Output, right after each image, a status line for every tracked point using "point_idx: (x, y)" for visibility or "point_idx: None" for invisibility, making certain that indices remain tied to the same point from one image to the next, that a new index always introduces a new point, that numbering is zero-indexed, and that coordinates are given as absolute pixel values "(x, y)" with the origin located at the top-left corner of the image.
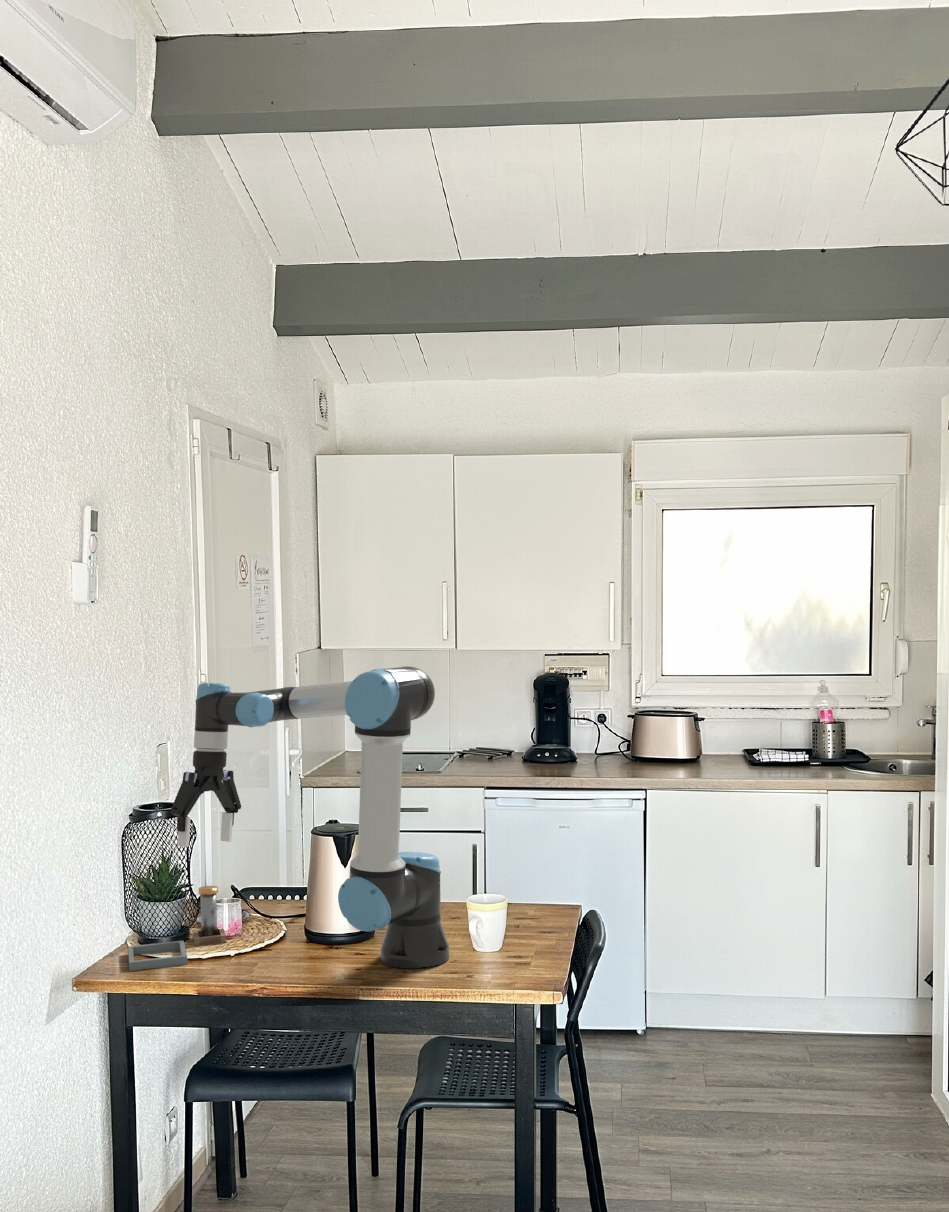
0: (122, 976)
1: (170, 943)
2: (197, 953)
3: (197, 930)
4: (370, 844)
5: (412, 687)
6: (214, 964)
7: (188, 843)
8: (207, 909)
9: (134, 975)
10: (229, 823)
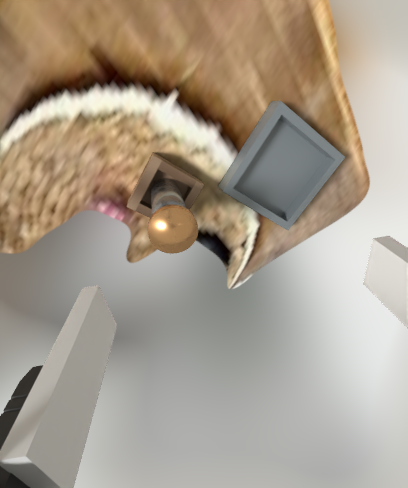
0: None
1: (244, 195)
2: (207, 162)
3: None
4: None
5: None
6: (229, 76)
7: (386, 246)
8: (181, 200)
9: None
10: (65, 371)
